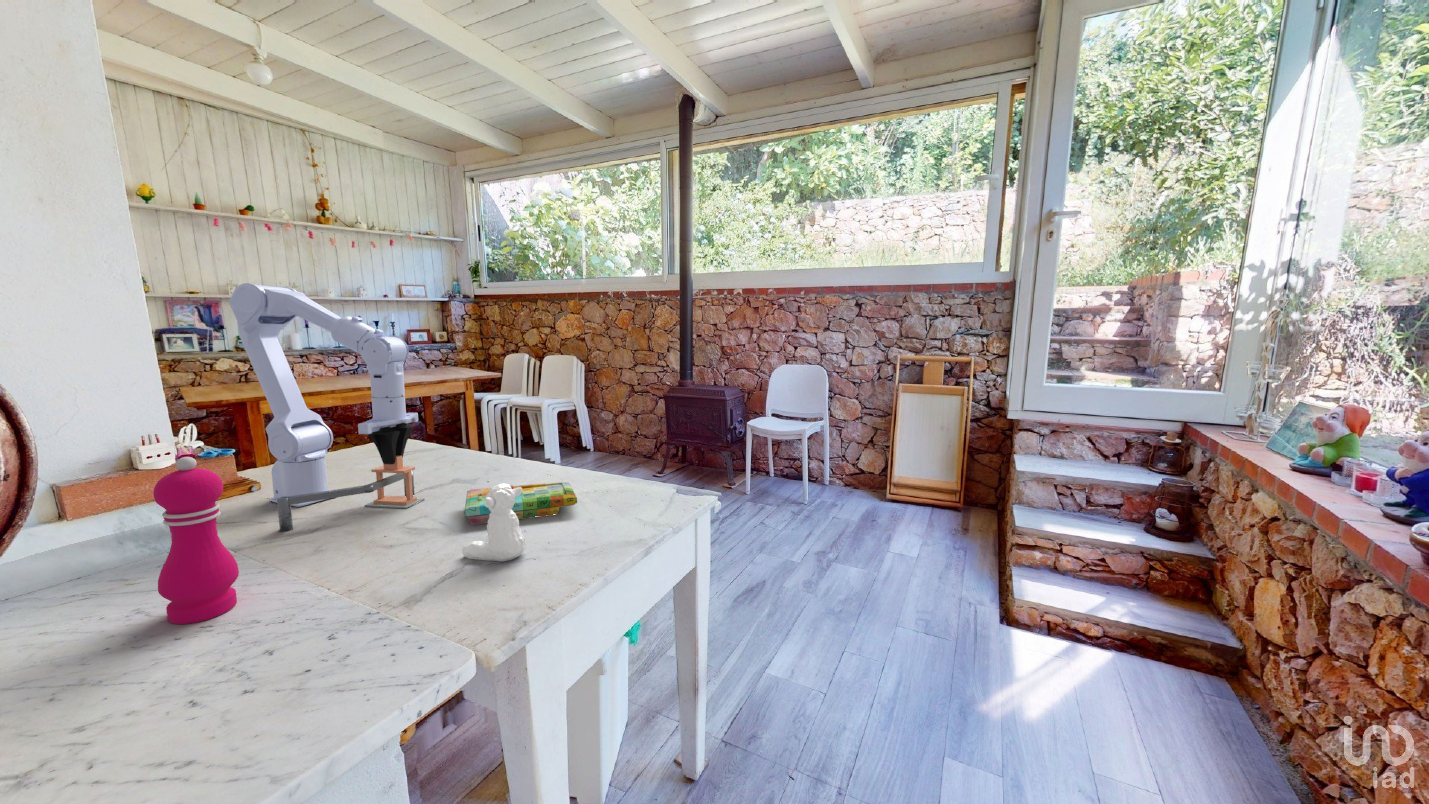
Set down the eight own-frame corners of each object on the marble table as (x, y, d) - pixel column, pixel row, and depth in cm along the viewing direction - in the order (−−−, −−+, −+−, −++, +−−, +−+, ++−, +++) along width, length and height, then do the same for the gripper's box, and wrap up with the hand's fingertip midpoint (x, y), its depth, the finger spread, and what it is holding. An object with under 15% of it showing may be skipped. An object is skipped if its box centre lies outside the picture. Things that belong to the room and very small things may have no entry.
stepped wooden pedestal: (406, 505, 105) (403, 459, 103) (373, 503, 105) (370, 457, 104) (416, 500, 108) (414, 455, 107) (384, 498, 109) (382, 453, 107)
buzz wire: (277, 530, 91) (274, 499, 90) (400, 492, 113) (398, 467, 113) (306, 537, 89) (303, 504, 88) (426, 497, 111) (425, 471, 110)
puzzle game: (467, 486, 105) (568, 477, 112) (468, 509, 105) (568, 498, 113) (464, 504, 94) (576, 493, 102) (465, 529, 95) (577, 516, 102)
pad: (406, 508, 104) (406, 507, 104) (364, 506, 104) (364, 505, 104) (424, 499, 109) (424, 498, 109) (384, 497, 110) (384, 496, 110)
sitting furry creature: (513, 538, 90) (511, 471, 89) (544, 551, 85) (542, 481, 84) (460, 556, 82) (457, 484, 81) (491, 572, 78) (488, 495, 76)
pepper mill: (171, 634, 60) (150, 467, 58) (154, 615, 64) (134, 458, 62) (251, 607, 66) (235, 455, 64) (231, 591, 70) (215, 447, 68)
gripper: (380, 401, 96) (385, 472, 98) (430, 392, 111) (433, 454, 112) (345, 400, 97) (350, 470, 99) (399, 392, 111) (402, 453, 113)
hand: (392, 462), depth 106 cm, fingers closed on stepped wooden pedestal, 2 cm apart
